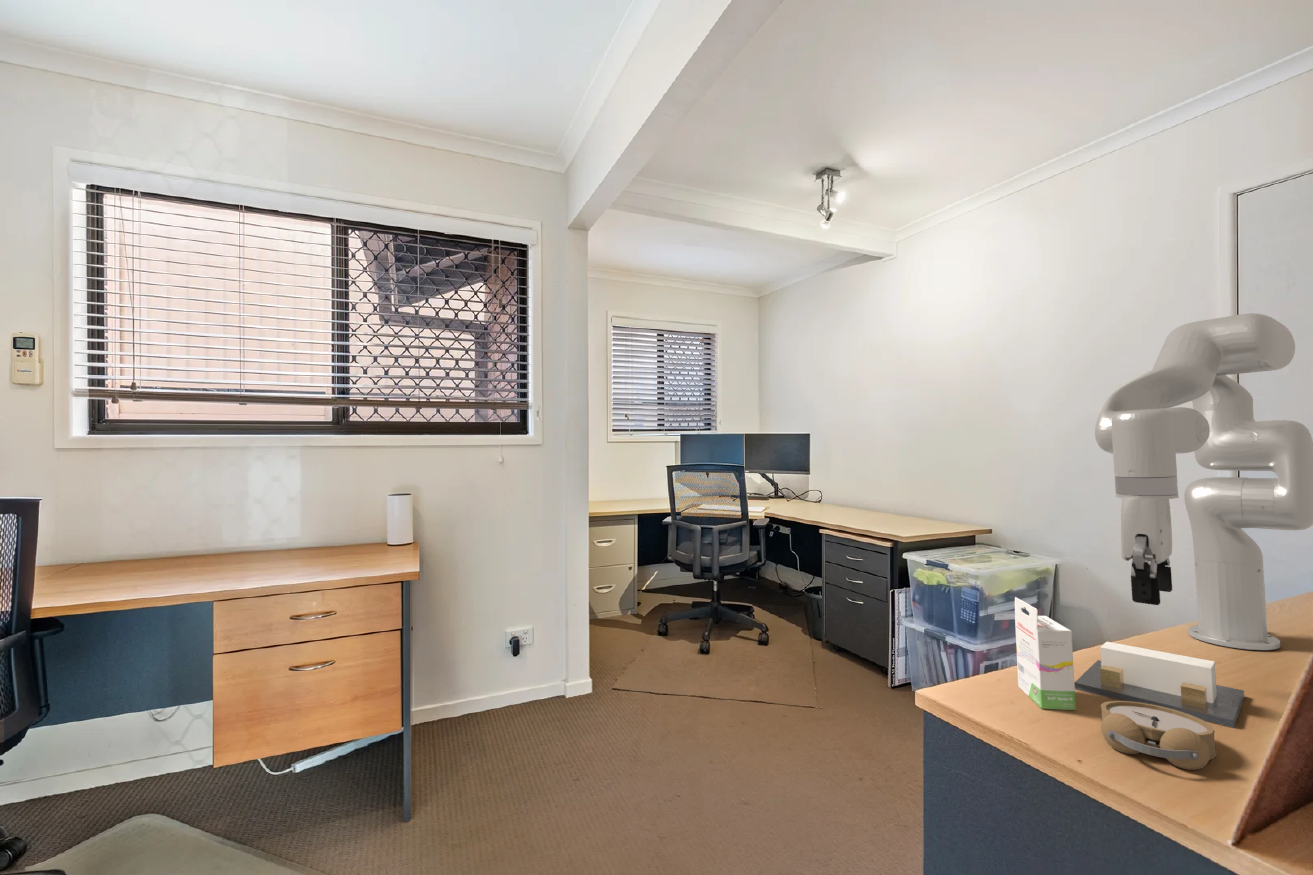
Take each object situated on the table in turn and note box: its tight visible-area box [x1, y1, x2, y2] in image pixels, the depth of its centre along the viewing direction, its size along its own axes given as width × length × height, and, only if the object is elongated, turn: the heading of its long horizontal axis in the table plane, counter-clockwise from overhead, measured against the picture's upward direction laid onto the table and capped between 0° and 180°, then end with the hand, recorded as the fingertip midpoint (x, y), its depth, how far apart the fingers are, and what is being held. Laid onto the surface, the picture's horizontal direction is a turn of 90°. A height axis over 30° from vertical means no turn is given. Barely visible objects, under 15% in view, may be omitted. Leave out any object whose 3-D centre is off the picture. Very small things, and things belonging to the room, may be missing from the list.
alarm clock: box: [1100, 700, 1217, 771], centre depth 73 cm, size 11×5×15 cm
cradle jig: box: [1074, 659, 1246, 729], centre depth 89 cm, size 14×18×4 cm
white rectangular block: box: [1100, 641, 1217, 703], centre depth 89 cm, size 4×13×5 cm, turn 40°
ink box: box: [1014, 596, 1077, 711], centre depth 88 cm, size 9×5×15 cm, turn 168°
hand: (1152, 596), depth 89 cm, fingers open, 9 cm apart
